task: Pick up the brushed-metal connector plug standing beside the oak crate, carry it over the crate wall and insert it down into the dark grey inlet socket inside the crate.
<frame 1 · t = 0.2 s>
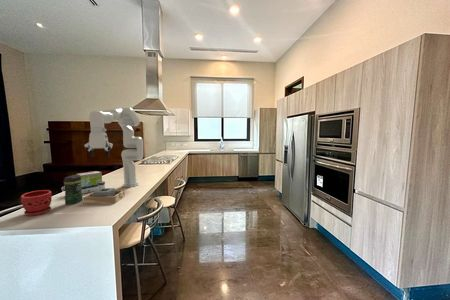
hand: (99, 157, 133), 31 cm above the countertop, tool pointing down, fingers open, 9 cm apart
inlet socket: (105, 200, 140), resting on oak crate
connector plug: (102, 195, 152), on the countertop
coffee jar: (74, 203, 137), on the countertop
oak crate: (105, 200, 140), on the countertop
tea box: (90, 191, 164), on the countertop
plant pot: (38, 213, 120), on the countertop
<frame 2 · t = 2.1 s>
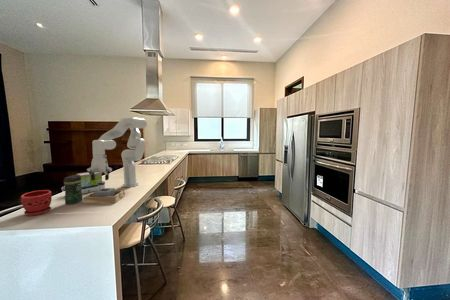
hand: (100, 180, 150), 12 cm above the countertop, tool pointing down, fingers open, 9 cm apart
nothing on the countertop moved.
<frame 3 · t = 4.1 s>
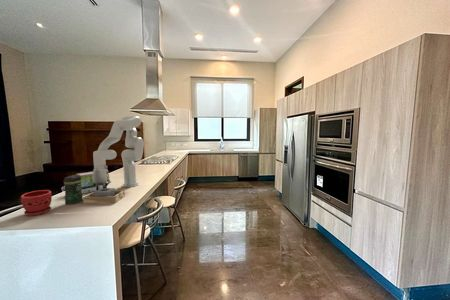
hand: (101, 191, 152), 3 cm above the countertop, tool pointing down, fingers closed on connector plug, 4 cm apart
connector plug: (102, 195, 152), on the countertop, touching gripper
everything else where it was.
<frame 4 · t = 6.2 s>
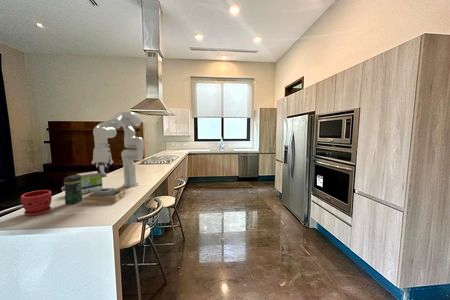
hand: (103, 172, 138), 20 cm above the countertop, tool pointing down, fingers closed on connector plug, 4 cm apart
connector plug: (103, 176, 138), point 17 cm above the countertop, touching gripper
everything else where it was.
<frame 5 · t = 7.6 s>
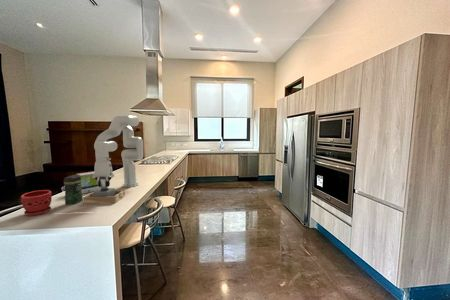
hand: (104, 186, 139), 10 cm above the countertop, tool pointing down, fingers closed on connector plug, 4 cm apart
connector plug: (104, 190, 139), point 7 cm above the countertop, touching gripper
everything else where it was.
when the fingers open (9 cm above the countertop, at t = 8.5 s): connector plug drops 2 cm, resting on inlet socket.
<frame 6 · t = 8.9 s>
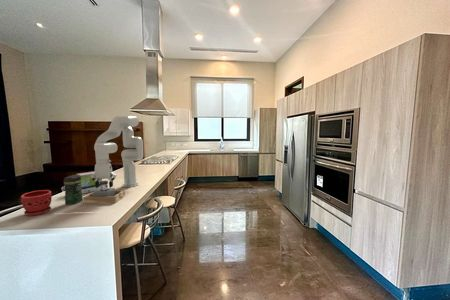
hand: (104, 187, 139), 10 cm above the countertop, tool pointing down, fingers open, 8 cm apart
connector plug: (105, 195, 139), point 4 cm above the countertop, touching inlet socket
everything else where it was.
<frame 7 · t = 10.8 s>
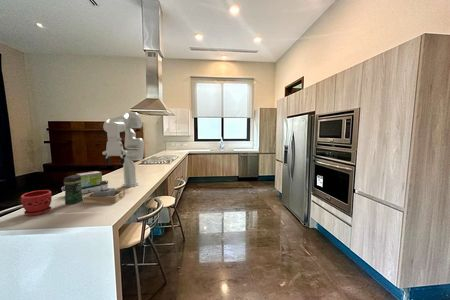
hand: (115, 163, 145), 24 cm above the countertop, tool pointing down, fingers open, 9 cm apart
nothing on the countertop moved.
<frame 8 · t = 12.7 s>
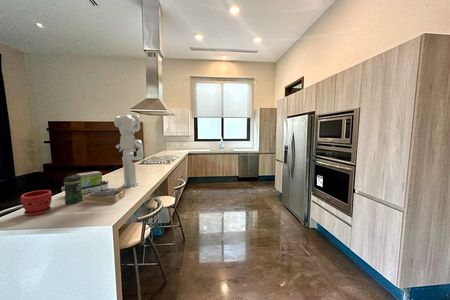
hand: (128, 156, 153), 28 cm above the countertop, tool pointing down, fingers open, 9 cm apart
nothing on the countertop moved.
at the end: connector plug 0.0 cm off-centre on the inlet socket, point 3.0 cm above the inlet socket's base; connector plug tilted 0°; the gripper is holding nothing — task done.
